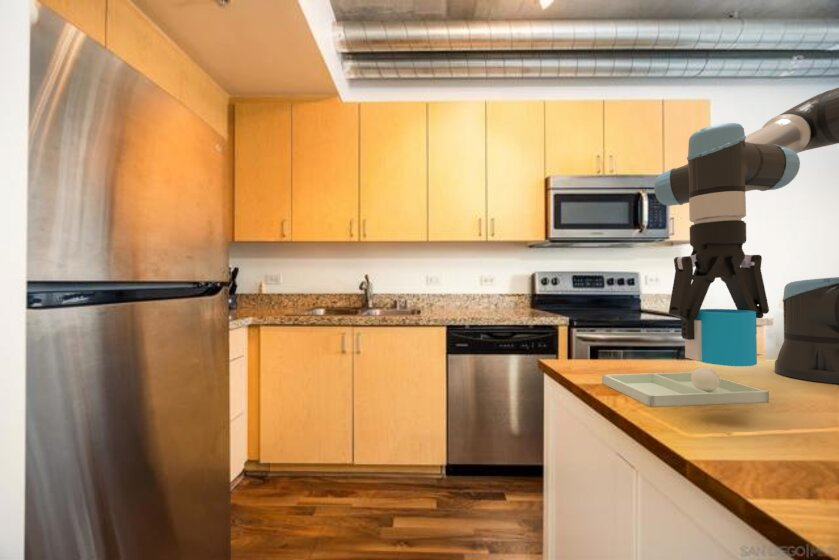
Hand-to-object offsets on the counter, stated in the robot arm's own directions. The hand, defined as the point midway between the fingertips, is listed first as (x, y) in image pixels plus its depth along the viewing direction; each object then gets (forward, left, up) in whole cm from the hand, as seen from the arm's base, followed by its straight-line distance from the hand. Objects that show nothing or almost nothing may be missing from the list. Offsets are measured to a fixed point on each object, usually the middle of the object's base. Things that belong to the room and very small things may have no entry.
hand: (719, 357), depth 66 cm
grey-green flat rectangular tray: (-4, -14, -10) cm, 18 cm away
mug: (-1, 0, 0) cm, 1 cm away
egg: (-9, -14, -10) cm, 20 cm away
